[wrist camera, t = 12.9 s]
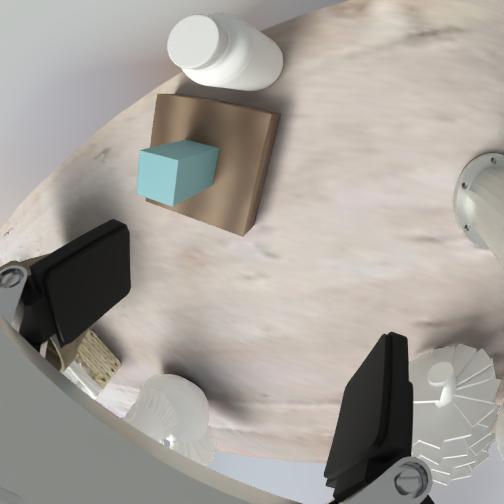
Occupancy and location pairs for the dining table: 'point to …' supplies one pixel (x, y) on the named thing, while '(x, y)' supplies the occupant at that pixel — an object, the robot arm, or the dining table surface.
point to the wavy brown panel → (220, 155)
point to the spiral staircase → (453, 410)
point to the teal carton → (176, 171)
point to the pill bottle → (224, 52)
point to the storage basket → (93, 365)
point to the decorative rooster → (175, 416)
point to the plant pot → (53, 353)
